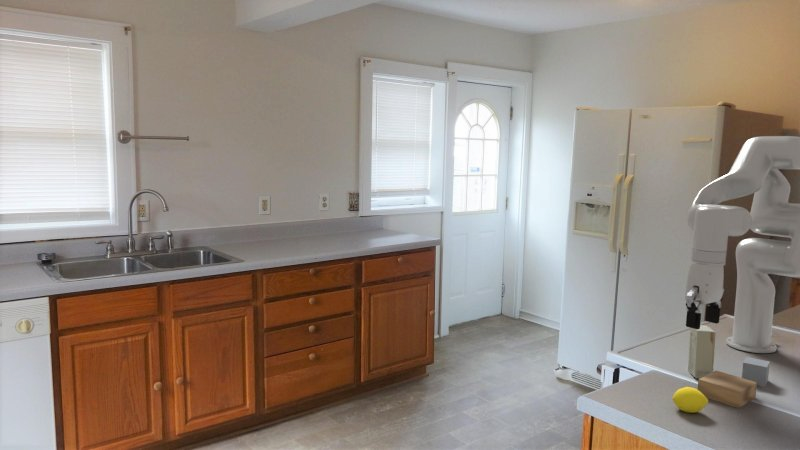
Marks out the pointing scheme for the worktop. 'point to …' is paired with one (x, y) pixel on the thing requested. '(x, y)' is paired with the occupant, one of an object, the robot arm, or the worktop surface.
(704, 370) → the skincare box
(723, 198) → the robot arm
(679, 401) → the lemon
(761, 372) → the grey block
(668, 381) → the worktop surface
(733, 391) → the oak block
